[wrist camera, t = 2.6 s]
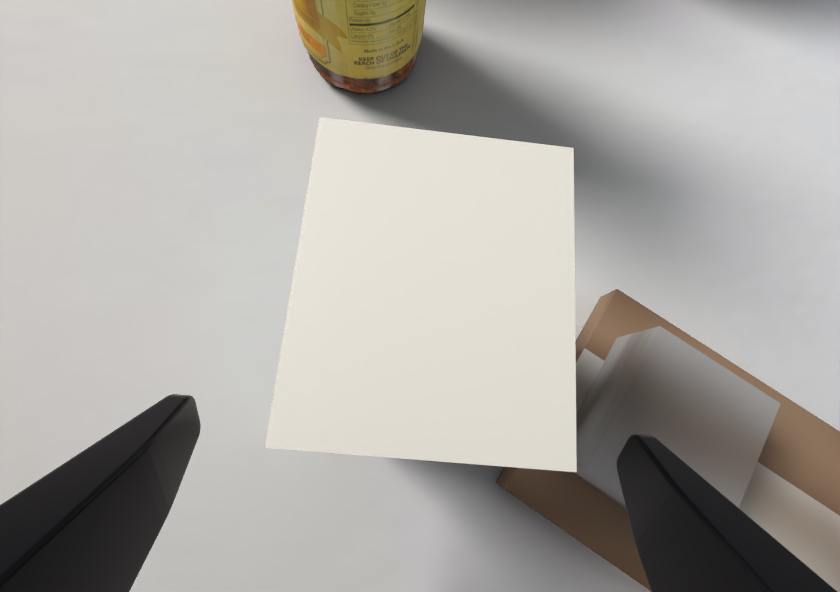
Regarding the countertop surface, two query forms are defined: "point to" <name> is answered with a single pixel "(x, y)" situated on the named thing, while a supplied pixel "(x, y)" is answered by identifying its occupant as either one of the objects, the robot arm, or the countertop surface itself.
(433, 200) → the block
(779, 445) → the rail board
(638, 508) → the robot arm
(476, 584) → the countertop surface
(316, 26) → the sauce bottle
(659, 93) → the countertop surface
